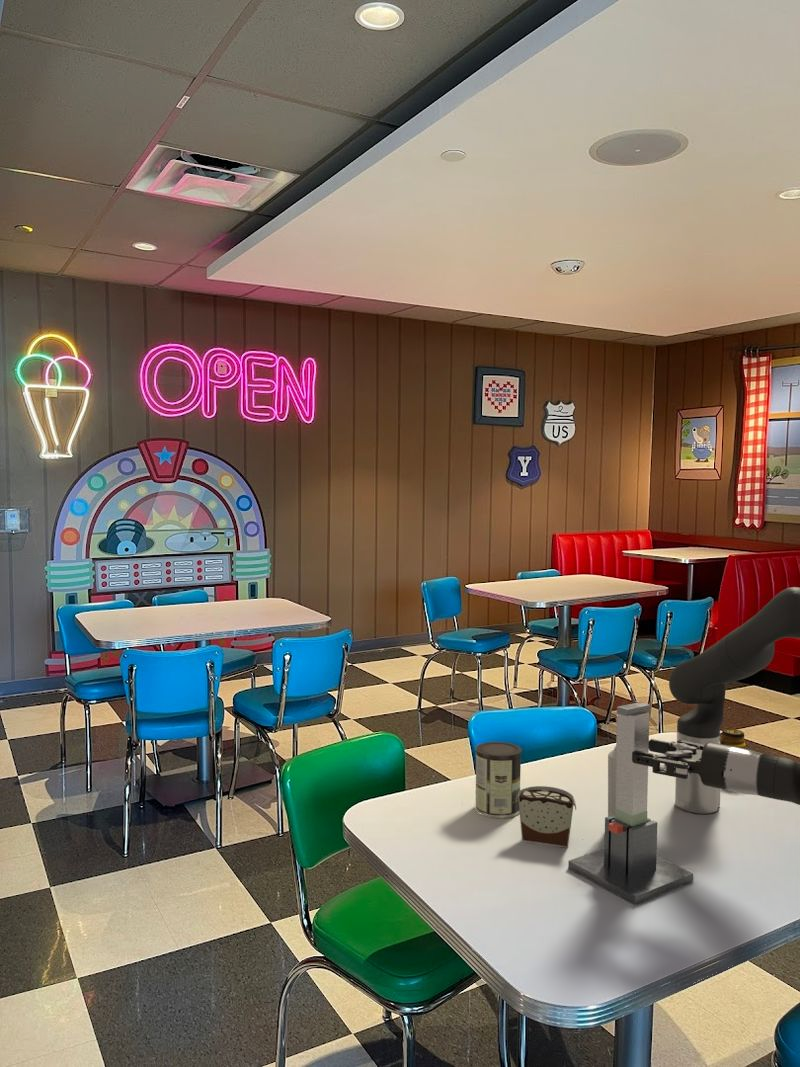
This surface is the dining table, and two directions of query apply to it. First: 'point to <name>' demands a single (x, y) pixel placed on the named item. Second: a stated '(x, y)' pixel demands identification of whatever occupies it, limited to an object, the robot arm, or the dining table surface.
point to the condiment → (733, 738)
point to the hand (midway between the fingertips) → (641, 750)
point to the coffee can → (497, 779)
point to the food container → (545, 815)
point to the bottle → (612, 778)
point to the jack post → (632, 764)
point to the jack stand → (630, 863)
